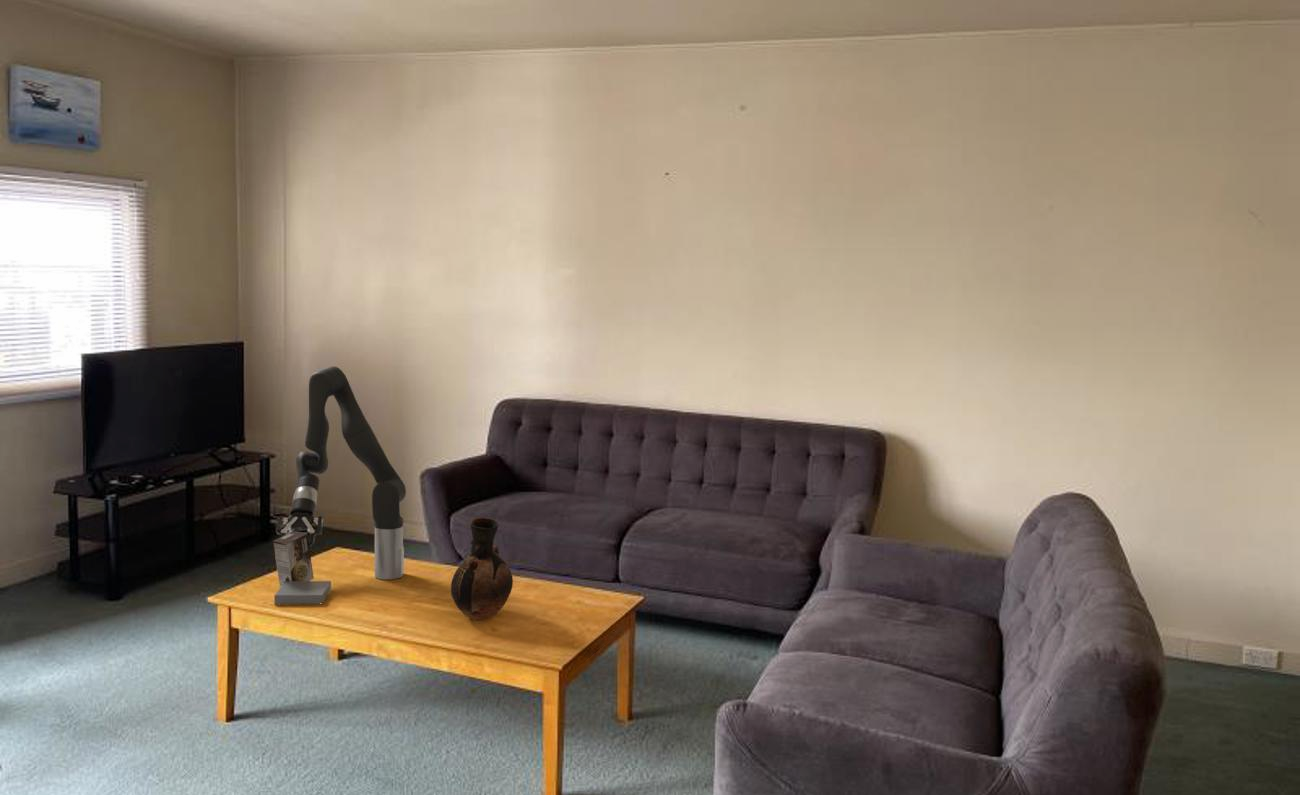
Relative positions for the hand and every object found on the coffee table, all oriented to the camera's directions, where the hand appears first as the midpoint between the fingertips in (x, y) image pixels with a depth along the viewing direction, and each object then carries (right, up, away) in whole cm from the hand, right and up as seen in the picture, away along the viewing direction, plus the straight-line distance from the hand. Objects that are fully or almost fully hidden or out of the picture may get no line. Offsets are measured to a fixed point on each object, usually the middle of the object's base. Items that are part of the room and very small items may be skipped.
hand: (296, 545), depth 314 cm
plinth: (+6, -15, -11) cm, 19 cm away
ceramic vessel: (+64, -18, -22) cm, 70 cm away
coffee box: (0, -13, +1) cm, 13 cm away
